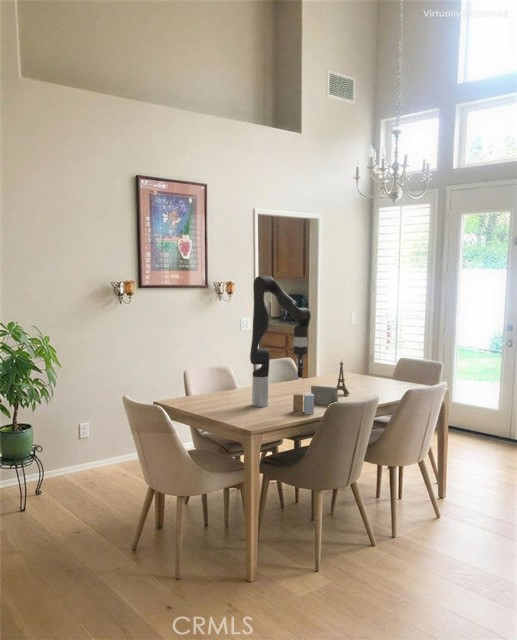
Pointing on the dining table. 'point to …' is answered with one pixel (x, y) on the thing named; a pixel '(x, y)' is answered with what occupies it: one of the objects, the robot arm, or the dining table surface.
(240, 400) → the dining table surface
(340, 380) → the eiffel tower
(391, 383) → the dining table surface
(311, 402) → the slate-blue block
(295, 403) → the walnut block
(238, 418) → the dining table surface
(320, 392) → the digital clock
